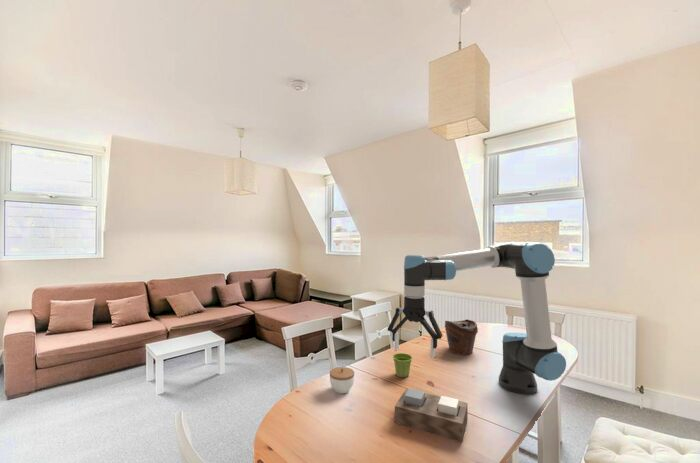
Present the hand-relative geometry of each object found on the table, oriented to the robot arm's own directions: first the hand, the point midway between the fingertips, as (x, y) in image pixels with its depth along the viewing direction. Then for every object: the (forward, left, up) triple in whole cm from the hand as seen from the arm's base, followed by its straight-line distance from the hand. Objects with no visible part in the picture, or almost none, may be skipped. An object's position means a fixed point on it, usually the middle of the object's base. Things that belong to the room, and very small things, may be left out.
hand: (414, 353), depth 115 cm
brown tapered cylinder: (-7, -76, -23) cm, 80 cm away
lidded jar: (+33, -4, -23) cm, 41 cm away
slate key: (-1, +1, -18) cm, 19 cm away
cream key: (-13, +1, -18) cm, 22 cm away
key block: (-7, +1, -23) cm, 24 cm away
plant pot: (+14, -30, -23) cm, 41 cm away
